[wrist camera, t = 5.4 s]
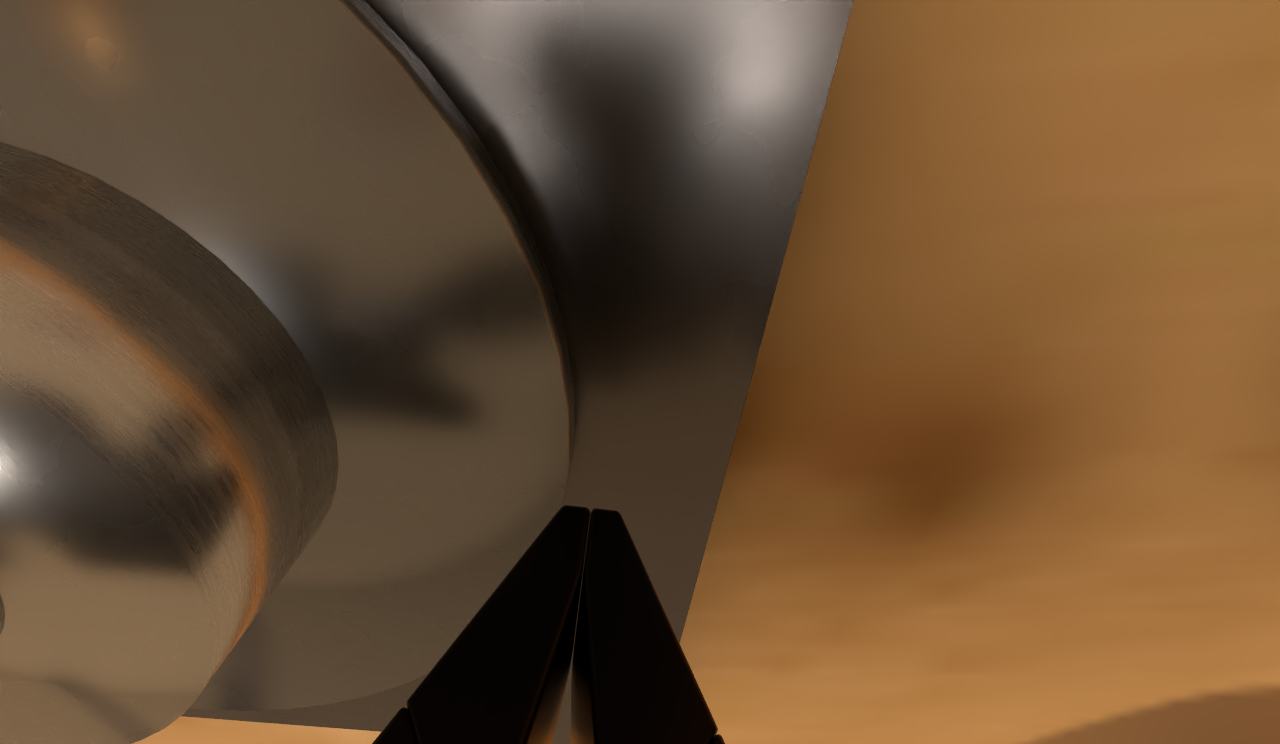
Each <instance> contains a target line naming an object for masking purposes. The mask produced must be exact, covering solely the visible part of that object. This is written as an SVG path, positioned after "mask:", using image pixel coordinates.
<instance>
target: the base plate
mask: <svg viewBox="0 0 1280 744" xmlns="http://www.w3.org/2000/svg"><path fill="white" fill-rule="evenodd" d="M365 1H366V2H367V3H368V4H369V5H370V6H371V8H372V9H373V10H374V11H375V12H376V13H377V14H378V15H379V16H380V17H381V18H382V19H383V20H384V21H385V22H386V23H387V25H388V26H389V27H390V28H391V29H392V30H393V31H394V32H395V33H396V34H397V35H398V36H399V37H400V38H401V39H402V41H403V42H404V43H405V44H406V45H407V46H408V47H409V48H410V49H411V50H412V51H413V52H414V53H415V54H416V55H417V57H418V58H419V59H420V60H421V61H422V62H423V63H424V65H425V66H426V67H427V69H428V70H429V71H430V73H431V74H432V75H433V77H434V78H435V79H436V80H437V82H438V83H439V84H440V86H441V87H442V88H443V90H444V91H445V92H446V94H447V95H448V96H449V98H450V99H451V100H452V102H453V103H454V104H455V106H456V107H457V108H458V110H459V111H460V112H461V114H462V115H463V116H464V118H465V119H466V120H467V122H468V123H469V124H470V125H471V127H472V128H473V129H474V131H475V132H476V133H477V135H478V137H479V138H480V140H481V142H482V143H483V145H484V147H485V148H486V150H487V152H488V153H489V155H490V157H491V158H492V160H493V162H494V163H495V165H496V167H497V169H498V170H499V172H500V174H501V175H502V177H503V179H504V180H505V182H506V184H507V185H508V187H509V189H510V190H511V192H512V194H513V195H514V197H515V199H516V200H517V202H518V204H519V206H520V208H521V210H522V213H523V215H524V217H525V219H526V222H527V224H528V226H529V228H530V231H531V233H532V235H533V237H534V240H535V242H536V244H537V246H538V249H539V251H540V253H541V255H542V258H543V260H544V262H545V264H546V267H547V269H548V272H549V275H550V278H551V282H552V285H553V288H554V292H555V295H556V299H557V302H558V305H559V309H560V312H561V315H562V319H563V322H564V325H565V329H566V333H567V340H568V346H569V353H570V359H571V366H572V372H573V379H574V386H575V436H574V442H573V449H572V455H571V461H570V467H569V473H568V479H567V485H566V490H565V496H564V501H563V506H564V505H570V506H579V507H587V508H588V509H589V510H590V515H591V511H592V510H593V509H595V508H598V509H607V510H615V511H618V512H619V513H620V514H621V516H622V518H623V520H624V522H625V525H626V527H627V529H628V531H629V533H630V536H631V538H632V540H633V542H634V544H635V547H636V549H637V551H638V553H639V556H640V558H641V560H642V562H643V564H644V567H645V569H646V571H647V573H648V575H649V578H650V580H651V582H652V584H653V586H654V589H655V591H656V593H657V595H658V597H659V600H660V602H661V604H662V606H663V609H664V611H665V613H666V615H667V617H668V620H669V622H670V624H671V626H672V628H673V631H674V633H675V635H676V637H677V639H678V642H679V643H680V639H681V635H682V632H683V628H684V624H685V621H686V617H687V613H688V610H689V606H690V602H691V598H692V595H693V591H694V587H695V584H696V580H697V576H698V573H699V569H700V565H701V562H702V558H703V554H704V551H705V547H706V543H707V539H708V536H709V532H710V528H711V525H712V521H713V517H714V514H715V510H716V506H717V503H718V499H719V495H720V491H721V488H722V484H723V480H724V477H725V473H726V469H727V466H728V462H729V458H730V455H731V451H732V447H733V444H734V440H735V436H736V432H737V429H738V425H739V421H740V418H741V414H742V410H743V407H744V403H745V399H746V396H747V392H748V388H749V385H750V381H751V377H752V373H753V370H754V366H755V362H756V359H757V355H758V351H759V348H760V344H761V340H762V337H763V333H764V329H765V326H766V322H767V318H768V314H769V311H770V307H771V303H772V300H773V296H774V292H775V289H776V285H777V281H778V278H779V274H780V270H781V266H782V263H783V259H784V255H785V252H786V248H787V244H788V241H789V237H790V233H791V230H792V226H793V222H794V219H795V215H796V211H797V207H798V204H799V200H800V196H801V193H802V189H803V185H804V182H805V178H806V174H807V171H808V167H809V163H810V160H811V156H812V152H813V148H814V145H815V141H816V137H817V134H818V130H819V126H820V123H821V119H822V115H823V112H824V108H825V104H826V100H827V97H828V93H829V89H830V86H831V82H832V78H833V75H834V71H835V67H836V64H837V60H838V56H839V53H840V49H841V45H842V41H843V38H844V34H845V30H846V27H847V23H848V19H849V16H850V12H851V8H852V5H853V1H854V0H365ZM589 522H590V520H589ZM588 530H589V528H588ZM587 538H588V536H587ZM586 546H587V544H586ZM585 554H586V552H585ZM584 562H585V560H584ZM583 570H584V568H583ZM582 578H583V576H582ZM581 586H582V584H581ZM580 594H581V592H580ZM579 602H580V599H579ZM578 610H579V607H578ZM577 618H578V615H577ZM576 626H577V623H576ZM575 634H576V631H575ZM574 642H575V639H574ZM573 650H574V647H573ZM572 661H573V654H572V660H571V666H570V671H569V676H568V680H567V685H566V689H565V693H564V697H563V701H562V705H561V710H560V714H559V718H558V722H557V726H556V730H555V734H554V738H553V742H552V744H571V678H572ZM428 674H429V673H428ZM428 674H426V675H424V676H422V677H419V678H417V679H415V680H413V681H411V682H409V683H406V684H403V685H400V686H397V687H394V688H391V689H388V690H385V691H382V692H379V693H376V694H373V695H369V696H365V697H360V698H356V699H351V700H347V701H342V702H337V703H333V704H326V705H318V706H310V707H302V708H294V709H279V710H253V711H235V710H208V709H192V708H188V709H187V710H186V711H185V713H184V714H183V715H182V716H187V717H200V718H213V719H226V720H239V721H252V722H265V723H278V724H291V725H304V726H317V727H330V728H343V729H356V730H369V731H383V730H384V728H385V727H386V726H387V725H388V723H389V722H390V721H391V720H392V718H393V717H394V716H395V715H396V713H397V712H398V711H399V710H400V709H401V708H403V707H405V708H406V702H407V700H408V699H409V697H410V696H411V695H412V694H413V692H414V691H415V690H416V689H417V687H418V686H419V685H420V684H421V682H422V681H423V680H424V679H425V677H426V676H427V675H428Z"/></svg>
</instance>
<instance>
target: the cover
mask: <svg viewBox="0 0 1280 744" xmlns="http://www.w3.org/2000/svg"><path fill="white" fill-rule="evenodd" d="M338 466H339V463H338V450H337V439H336V435H335V430H334V426H333V422H332V418H331V414H330V411H329V408H328V406H327V403H326V401H325V398H324V395H323V393H322V390H321V388H320V385H319V383H318V381H317V379H316V377H315V376H314V374H313V372H312V370H311V368H310V367H309V365H308V363H307V361H306V359H305V357H304V356H303V354H302V352H301V351H300V349H299V348H298V346H297V345H296V344H295V342H294V341H293V339H292V338H291V337H290V335H289V334H288V332H287V331H286V329H285V328H284V327H283V325H282V324H281V322H280V321H279V320H278V319H277V318H276V316H275V315H274V314H273V313H272V312H271V311H270V310H269V308H268V307H267V306H266V305H265V304H264V303H263V301H262V300H261V299H260V298H259V297H258V296H257V295H256V293H255V292H254V291H253V290H252V289H251V288H250V287H249V286H248V285H247V284H246V283H245V282H244V281H243V280H242V279H240V278H239V277H238V276H237V275H236V274H235V273H234V272H233V271H232V270H231V269H230V268H229V267H228V266H227V265H226V264H225V263H224V262H223V261H222V260H221V259H219V258H218V257H217V256H216V255H214V254H213V253H212V252H211V251H209V250H208V249H207V248H206V247H204V246H203V245H202V244H201V243H199V242H198V241H197V240H195V239H194V238H193V237H192V236H190V235H189V234H188V233H187V232H185V231H184V230H183V229H182V228H180V227H178V226H177V225H175V224H174V223H172V222H171V221H169V220H168V219H166V218H165V217H163V216H162V215H160V214H159V213H157V212H156V211H154V210H153V209H151V208H150V207H148V206H147V205H145V204H144V203H142V202H141V201H139V200H137V199H135V198H133V197H131V196H130V195H128V194H126V193H124V192H122V191H120V190H119V189H117V188H115V187H113V186H111V185H109V184H107V183H106V182H104V181H102V180H100V179H98V178H96V177H94V176H92V175H90V174H87V173H85V172H83V171H80V170H78V169H76V168H73V167H71V166H69V165H66V164H64V163H62V162H59V161H57V160H55V159H52V158H50V157H48V156H45V155H41V154H38V153H35V152H32V151H29V150H26V149H23V148H19V147H16V146H13V145H10V144H7V143H4V142H1V141H0V744H131V743H134V742H137V741H140V740H142V739H144V738H146V737H148V736H150V735H152V734H154V733H156V732H158V731H160V730H162V729H164V728H166V727H167V726H168V725H170V724H171V723H172V722H174V721H175V720H176V719H178V718H179V717H180V716H182V715H183V714H184V713H185V711H186V710H187V709H188V708H189V707H190V706H191V704H192V703H193V702H194V701H195V700H196V699H197V697H198V696H199V695H200V693H201V692H202V691H203V689H204V688H205V686H206V685H207V684H208V682H209V681H210V679H211V678H212V677H213V675H214V674H215V672H216V671H217V670H218V668H219V667H220V666H221V664H222V663H223V661H224V660H225V659H226V657H227V656H228V654H229V653H230V652H231V650H232V649H233V647H234V646H235V645H236V643H237V642H238V641H239V639H240V638H241V636H242V635H243V634H244V632H245V631H246V629H247V628H248V627H249V625H250V624H251V622H252V621H253V620H254V618H255V617H256V616H257V614H258V613H259V611H260V610H261V609H262V607H263V606H264V604H265V603H266V602H267V600H268V599H269V597H270V596H271V595H272V593H273V592H274V590H275V589H276V588H277V586H278V585H279V584H280V582H281V581H282V579H283V578H284V577H285V575H286V574H287V572H288V571H289V570H290V568H291V567H292V565H293V564H294V563H295V561H296V560H297V559H298V557H299V556H300V554H301V553H302V552H303V550H304V549H305V547H306V546H307V545H308V543H309V542H310V540H311V539H312V538H313V536H314V535H315V534H316V532H317V531H318V529H319V528H320V526H321V525H322V523H323V521H324V519H325V517H326V515H327V513H328V512H329V510H330V507H331V504H332V501H333V497H334V494H335V491H336V486H337V476H338Z"/></svg>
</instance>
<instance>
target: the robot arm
mask: <svg viewBox="0 0 1280 744" xmlns="http://www.w3.org/2000/svg"><path fill="white" fill-rule="evenodd" d="M589 520H590V522H589ZM588 528H589V530H588ZM587 536H588V538H587ZM586 544H587V546H586ZM585 552H586V554H585ZM584 560H585V562H584ZM583 568H584V570H583ZM582 576H583V578H582ZM581 584H582V586H581ZM580 592H581V594H580ZM579 599H580V602H579ZM578 607H579V610H578ZM577 615H578V618H577ZM576 623H577V626H576ZM575 631H576V634H575ZM574 639H575V642H574ZM573 647H574V650H573ZM572 654H573V661H572V678H571V744H725V743H724V740H723V738H722V736H721V735H716V734H717V731H718V728H717V726H716V723H715V721H714V719H713V717H712V715H711V712H710V710H709V708H708V706H707V704H706V701H705V699H704V697H703V695H702V693H701V690H700V688H699V686H698V684H697V681H696V679H695V677H694V675H693V673H692V670H691V668H690V666H689V664H688V662H687V659H686V657H685V655H684V653H683V651H682V648H681V646H680V644H679V642H678V639H677V637H676V635H675V633H674V631H673V628H672V626H671V624H670V622H669V620H668V617H667V615H666V613H665V611H664V609H663V606H662V604H661V602H660V600H659V597H658V595H657V593H656V591H655V589H654V586H653V584H652V582H651V580H650V578H649V575H648V573H647V571H646V569H645V567H644V564H643V562H642V560H641V558H640V556H639V553H638V551H637V549H636V547H635V544H634V542H633V540H632V538H631V536H630V533H629V531H628V529H627V527H626V525H625V522H624V520H623V518H622V516H621V514H620V513H619V512H618V511H615V510H607V509H598V508H595V509H593V510H592V511H591V515H590V510H589V509H588V508H587V507H579V506H570V505H564V506H562V507H561V508H560V509H559V510H558V511H557V513H556V514H555V515H554V516H553V518H552V519H551V520H550V521H549V523H548V524H547V525H546V526H545V528H544V529H543V530H542V532H541V533H540V534H539V535H538V537H537V538H536V539H535V540H534V542H533V543H532V544H531V545H530V547H529V548H528V549H527V550H526V552H525V553H524V554H523V555H522V557H521V558H520V559H519V560H518V562H517V563H516V564H515V565H514V567H513V568H512V569H511V570H510V572H509V573H508V574H507V576H506V577H505V578H504V579H503V581H502V582H501V583H500V584H499V586H498V587H497V588H496V589H495V591H494V592H493V593H492V594H491V596H490V597H489V598H488V599H487V601H486V602H485V603H484V604H483V606H482V607H481V608H480V609H479V611H478V612H477V613H476V614H475V616H474V617H473V618H472V620H471V621H470V622H469V623H468V625H467V626H466V627H465V628H464V630H463V631H462V632H461V633H460V635H459V636H458V637H457V638H456V640H455V641H454V642H453V643H452V645H451V646H450V647H449V648H448V650H447V651H446V652H445V653H444V655H443V656H442V657H441V658H440V660H439V661H438V662H437V664H436V665H435V666H434V667H433V669H432V670H431V671H430V672H429V674H428V675H427V676H426V677H425V679H424V680H423V681H422V682H421V684H420V685H419V686H418V687H417V689H416V690H415V691H414V692H413V694H412V695H411V696H410V697H409V699H408V700H407V702H406V708H405V707H403V708H401V709H400V710H399V711H398V712H397V713H396V715H395V716H394V717H393V718H392V720H391V721H390V722H389V723H388V725H387V726H386V727H385V728H384V730H383V731H382V732H381V733H380V735H379V736H378V737H377V738H376V740H375V741H374V742H373V743H372V744H552V742H553V738H554V734H555V730H556V726H557V722H558V718H559V714H560V710H561V705H562V701H563V697H564V693H565V689H566V685H567V680H568V676H569V671H570V666H571V660H572Z"/></svg>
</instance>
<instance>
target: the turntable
mask: <svg viewBox="0 0 1280 744" xmlns="http://www.w3.org/2000/svg"><path fill="white" fill-rule="evenodd" d="M0 141H1V142H4V143H7V144H10V145H13V146H16V147H19V148H23V149H26V150H29V151H32V152H35V153H38V154H41V155H45V156H48V157H50V158H52V159H55V160H57V161H59V162H62V163H64V164H66V165H69V166H71V167H73V168H76V169H78V170H80V171H83V172H85V173H87V174H90V175H92V176H94V177H96V178H98V179H100V180H102V181H104V182H106V183H107V184H109V185H111V186H113V187H115V188H117V189H119V190H120V191H122V192H124V193H126V194H128V195H130V196H131V197H133V198H135V199H137V200H139V201H141V202H142V203H144V204H145V205H147V206H148V207H150V208H151V209H153V210H154V211H156V212H157V213H159V214H160V215H162V216H163V217H165V218H166V219H168V220H169V221H171V222H172V223H174V224H175V225H177V226H178V227H180V228H182V229H183V230H184V231H185V232H187V233H188V234H189V235H190V236H192V237H193V238H194V239H195V240H197V241H198V242H199V243H201V244H202V245H203V246H204V247H206V248H207V249H208V250H209V251H211V252H212V253H213V254H214V255H216V256H217V257H218V258H219V259H221V260H222V261H223V262H224V263H225V264H226V265H227V266H228V267H229V268H230V269H231V270H232V271H233V272H234V273H235V274H236V275H237V276H238V277H239V278H240V279H242V280H243V281H244V282H245V283H246V284H247V285H248V286H249V287H250V288H251V289H252V290H253V291H254V292H255V293H256V295H257V296H258V297H259V298H260V299H261V300H262V301H263V303H264V304H265V305H266V306H267V307H268V308H269V310H270V311H271V312H272V313H273V314H274V315H275V316H276V318H277V319H278V320H279V321H280V322H281V324H282V325H283V327H284V328H285V329H286V331H287V332H288V334H289V335H290V337H291V338H292V339H293V341H294V342H295V344H296V345H297V346H298V348H299V349H300V351H301V352H302V354H303V356H304V357H305V359H306V361H307V363H308V365H309V367H310V368H311V370H312V372H313V374H314V376H315V377H316V379H317V381H318V383H319V385H320V388H321V390H322V393H323V395H324V398H325V401H326V403H327V406H328V408H329V411H330V414H331V418H332V422H333V426H334V430H335V435H336V439H337V450H338V463H339V466H338V476H337V486H336V491H335V494H334V497H333V501H332V504H331V507H330V510H329V512H328V513H327V515H326V517H325V519H324V521H323V523H322V525H321V526H320V528H319V529H318V531H317V532H316V534H315V535H314V536H313V538H312V539H311V540H310V542H309V543H308V545H307V546H306V547H305V549H304V550H303V552H302V553H301V554H300V556H299V557H298V559H297V560H296V561H295V563H294V564H293V565H292V567H291V568H290V570H289V571H288V572H287V574H286V575H285V577H284V578H283V579H282V581H281V582H280V584H279V585H278V586H277V588H276V589H275V590H274V592H273V593H272V595H271V596H270V597H269V599H268V600H267V602H266V603H265V604H264V606H263V607H262V609H261V610H260V611H259V613H258V614H257V616H256V617H255V618H254V620H253V621H252V622H251V624H250V625H249V627H248V628H247V629H246V631H245V632H244V634H243V635H242V636H241V638H240V639H239V641H238V642H237V643H236V645H235V646H234V647H233V649H232V650H231V652H230V653H229V654H228V656H227V657H226V659H225V660H224V661H223V663H222V664H221V666H220V667H219V668H218V670H217V671H216V672H215V674H214V675H213V677H212V678H211V679H210V681H209V682H208V684H207V685H206V686H205V688H204V689H203V691H202V692H201V693H200V695H199V696H198V697H197V699H196V700H195V701H194V702H193V703H192V704H191V706H190V707H189V708H192V709H208V710H235V711H253V710H279V709H294V708H302V707H310V706H318V705H326V704H333V703H337V702H342V701H347V700H351V699H356V698H360V697H365V696H369V695H373V694H376V693H379V692H382V691H385V690H388V689H391V688H394V687H397V686H400V685H403V684H406V683H409V682H411V681H413V680H415V679H417V678H419V677H422V676H424V675H426V674H428V673H429V672H430V671H431V670H432V669H433V667H434V666H435V665H436V664H437V662H438V661H439V660H440V658H441V657H442V656H443V655H444V653H445V652H446V651H447V650H448V648H449V647H450V646H451V645H452V643H453V642H454V641H455V640H456V638H457V637H458V636H459V635H460V633H461V632H462V631H463V630H464V628H465V627H466V626H467V625H468V623H469V622H470V621H471V620H472V618H473V617H474V616H475V614H476V613H477V612H478V611H479V609H480V608H481V607H482V606H483V604H484V603H485V602H486V601H487V599H488V598H489V597H490V596H491V594H492V593H493V592H494V591H495V589H496V588H497V587H498V586H499V584H500V583H501V582H502V581H503V579H504V578H505V577H506V576H507V574H508V573H509V572H510V570H511V569H512V568H513V567H514V565H515V564H516V563H517V562H518V560H519V559H520V558H521V557H522V555H523V554H524V553H525V552H526V550H527V549H528V548H529V547H530V545H531V544H532V543H533V542H534V540H535V539H536V538H537V537H538V535H539V534H540V533H541V532H542V530H543V529H544V528H545V526H546V525H547V524H548V523H549V521H550V520H551V519H552V518H553V516H554V515H555V514H556V513H557V511H558V510H559V509H560V508H561V507H562V506H563V501H564V496H565V490H566V485H567V479H568V473H569V467H570V461H571V455H572V449H573V442H574V436H575V386H574V379H573V372H572V366H571V359H570V353H569V346H568V340H567V333H566V329H565V325H564V322H563V319H562V315H561V312H560V309H559V305H558V302H557V299H556V295H555V292H554V288H553V285H552V282H551V278H550V275H549V272H548V269H547V267H546V264H545V262H544V260H543V258H542V255H541V253H540V251H539V249H538V246H537V244H536V242H535V240H534V237H533V235H532V233H531V231H530V228H529V226H528V224H527V222H526V219H525V217H524V215H523V213H522V210H521V208H520V206H519V204H518V202H517V200H516V199H515V197H514V195H513V194H512V192H511V190H510V189H509V187H508V185H507V184H506V182H505V180H504V179H503V177H502V175H501V174H500V172H499V170H498V169H497V167H496V165H495V163H494V162H493V160H492V158H491V157H490V155H489V153H488V152H487V150H486V148H485V147H484V145H483V143H482V142H481V140H480V138H479V137H478V135H477V133H476V132H475V131H474V129H473V128H472V127H471V125H470V124H469V123H468V122H467V120H466V119H465V118H464V116H463V115H462V114H461V112H460V111H459V110H458V108H457V107H456V106H455V104H454V103H453V102H452V100H451V99H450V98H449V96H448V95H447V94H446V92H445V91H444V90H443V88H442V87H441V86H440V84H439V83H438V82H437V80H436V79H435V78H434V77H433V75H432V74H431V73H430V71H429V70H428V69H427V67H426V66H425V65H424V63H423V62H422V61H421V60H420V59H419V58H418V57H417V55H416V54H415V53H414V52H413V51H412V50H411V49H410V48H409V47H408V46H407V45H406V44H405V43H404V42H403V41H402V39H401V38H400V37H399V36H398V35H397V34H396V33H395V32H394V31H393V30H392V29H391V28H390V27H389V26H388V25H387V23H386V22H385V21H384V20H383V19H382V18H381V17H380V16H379V15H378V14H377V13H376V12H375V11H374V10H373V9H372V8H371V6H370V5H369V4H368V3H367V2H366V1H365V0H0Z"/></svg>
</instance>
